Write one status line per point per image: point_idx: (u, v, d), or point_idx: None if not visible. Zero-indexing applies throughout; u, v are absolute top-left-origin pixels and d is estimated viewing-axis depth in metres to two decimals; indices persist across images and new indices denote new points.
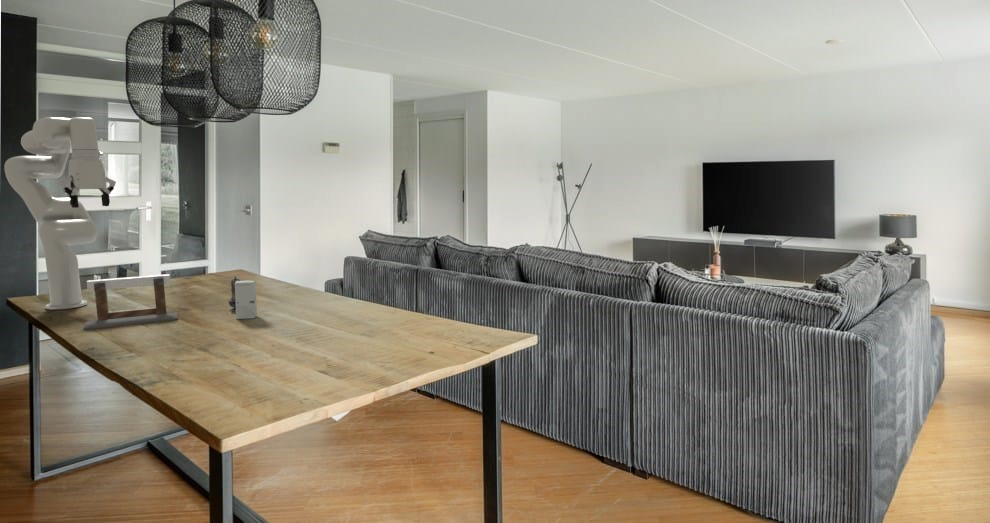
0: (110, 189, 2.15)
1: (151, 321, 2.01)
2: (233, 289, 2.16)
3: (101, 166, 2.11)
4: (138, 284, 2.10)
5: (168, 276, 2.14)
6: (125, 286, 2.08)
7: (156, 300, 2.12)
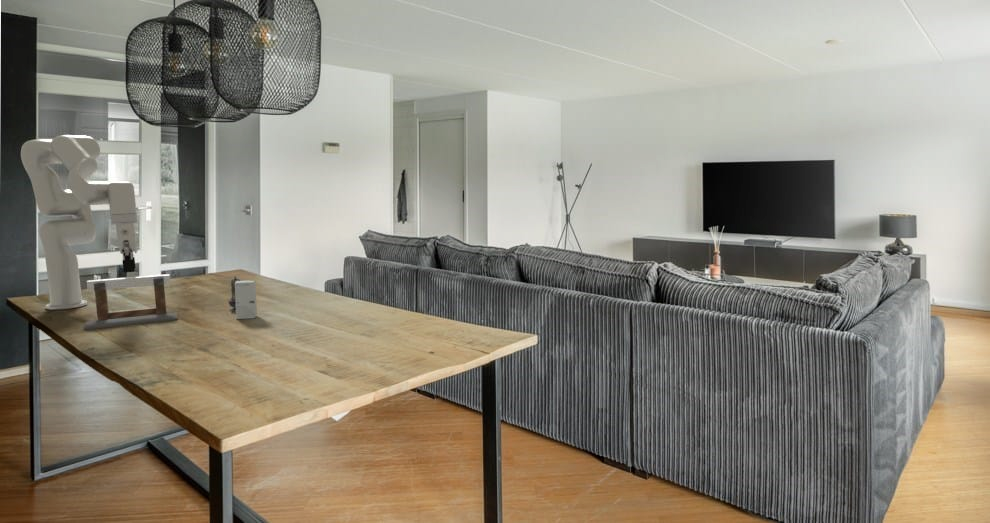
0: None
1: (151, 321, 2.01)
2: (233, 289, 2.16)
3: (117, 231, 2.03)
4: (138, 284, 2.10)
5: (168, 276, 2.14)
6: (125, 286, 2.08)
7: (156, 300, 2.12)
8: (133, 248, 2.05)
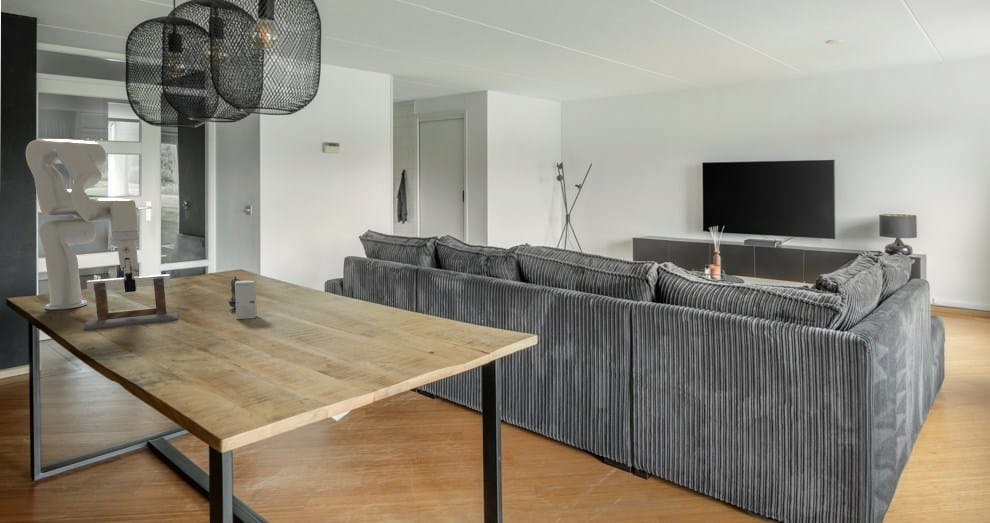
0: None
1: (151, 321, 2.01)
2: (233, 289, 2.16)
3: (118, 248, 2.04)
4: (138, 284, 2.10)
5: (168, 276, 2.14)
6: None
7: (156, 300, 2.12)
8: (134, 265, 2.05)
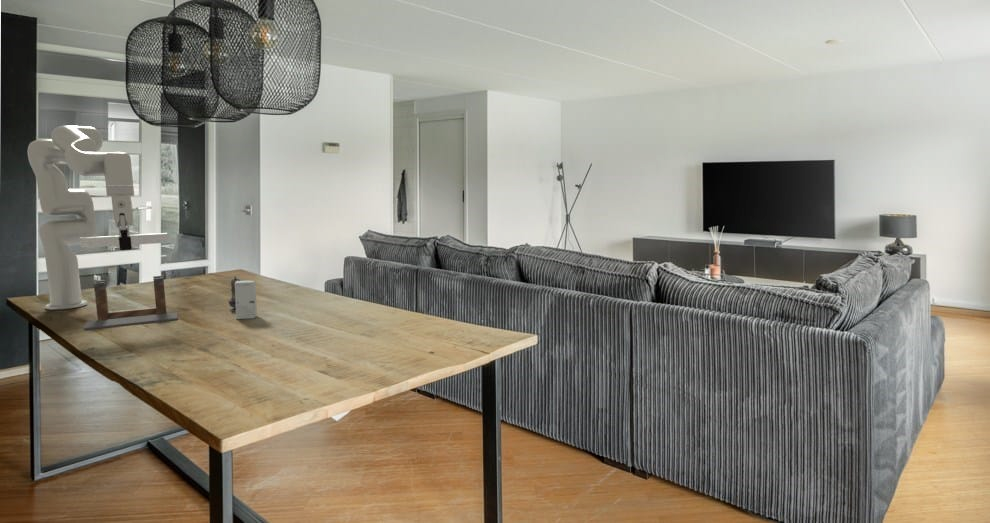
0: None
1: (151, 321, 2.01)
2: (233, 289, 2.16)
3: (113, 203, 1.94)
4: (134, 242, 2.00)
5: (166, 234, 2.04)
6: None
7: (156, 300, 2.12)
8: (130, 222, 1.96)
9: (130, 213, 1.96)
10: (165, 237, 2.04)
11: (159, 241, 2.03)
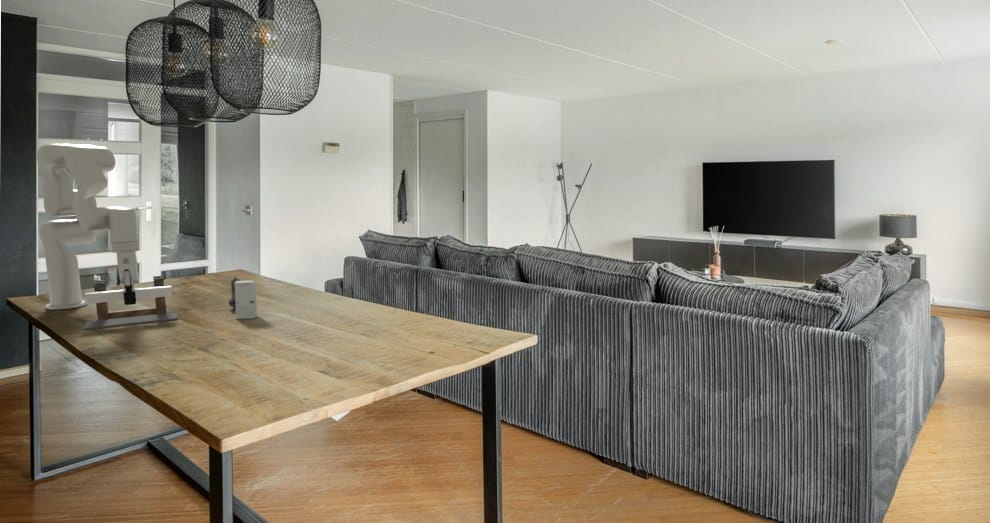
0: None
1: (151, 321, 2.01)
2: (233, 289, 2.16)
3: (118, 260, 1.95)
4: (139, 296, 2.01)
5: (170, 287, 2.05)
6: None
7: (156, 300, 2.12)
8: (134, 277, 1.97)
9: (135, 269, 1.97)
10: (169, 290, 2.05)
11: (163, 295, 2.05)
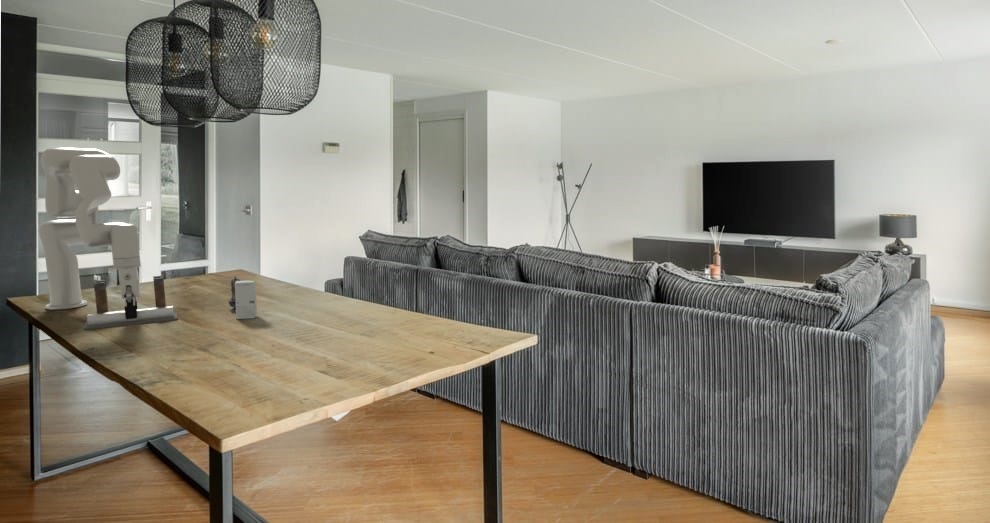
0: None
1: (151, 321, 2.01)
2: (233, 289, 2.16)
3: (119, 276, 1.96)
4: (140, 317, 2.02)
5: (172, 308, 2.06)
6: (127, 319, 2.00)
7: (156, 300, 2.12)
8: (136, 293, 1.98)
9: (136, 285, 1.98)
10: (171, 311, 2.06)
11: (165, 315, 2.06)
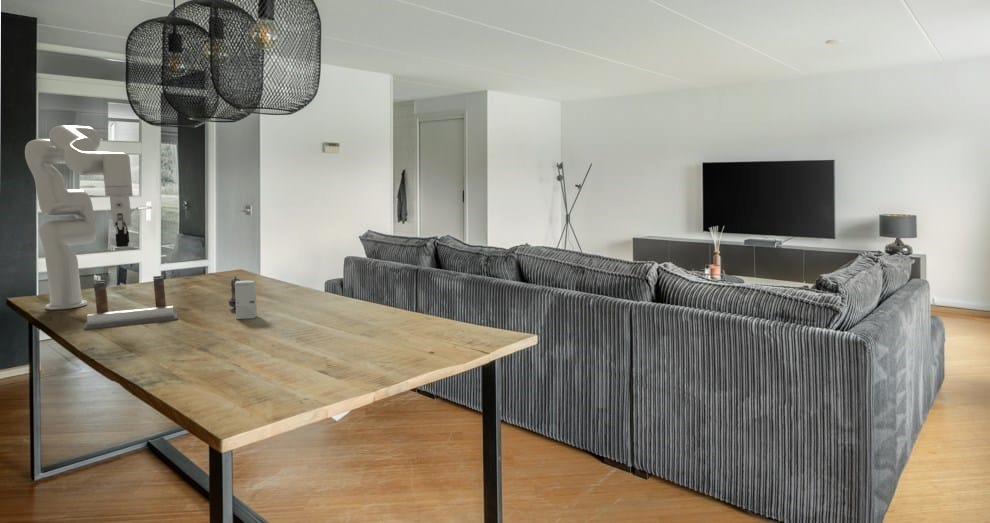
0: None
1: (151, 321, 2.01)
2: (233, 289, 2.16)
3: (111, 204, 1.96)
4: (140, 317, 2.02)
5: (172, 308, 2.06)
6: (127, 319, 2.00)
7: (156, 300, 2.12)
8: (127, 222, 1.98)
9: (128, 213, 1.98)
10: (171, 311, 2.06)
11: (165, 315, 2.06)
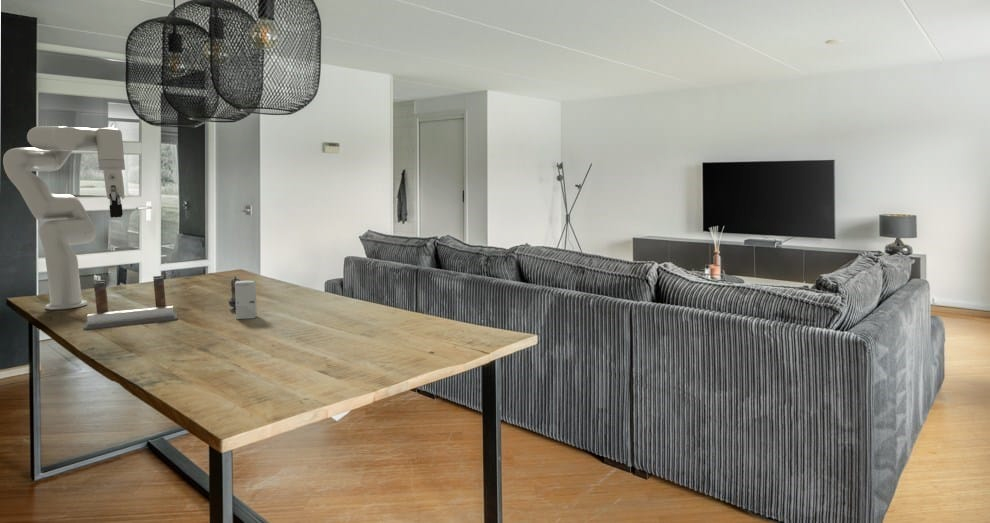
0: None
1: (151, 321, 2.01)
2: (233, 289, 2.16)
3: (104, 176, 2.06)
4: (140, 317, 2.02)
5: (172, 308, 2.06)
6: (127, 319, 2.00)
7: (156, 300, 2.12)
8: (120, 194, 2.08)
9: (121, 185, 2.08)
10: (171, 311, 2.06)
11: (165, 315, 2.06)
